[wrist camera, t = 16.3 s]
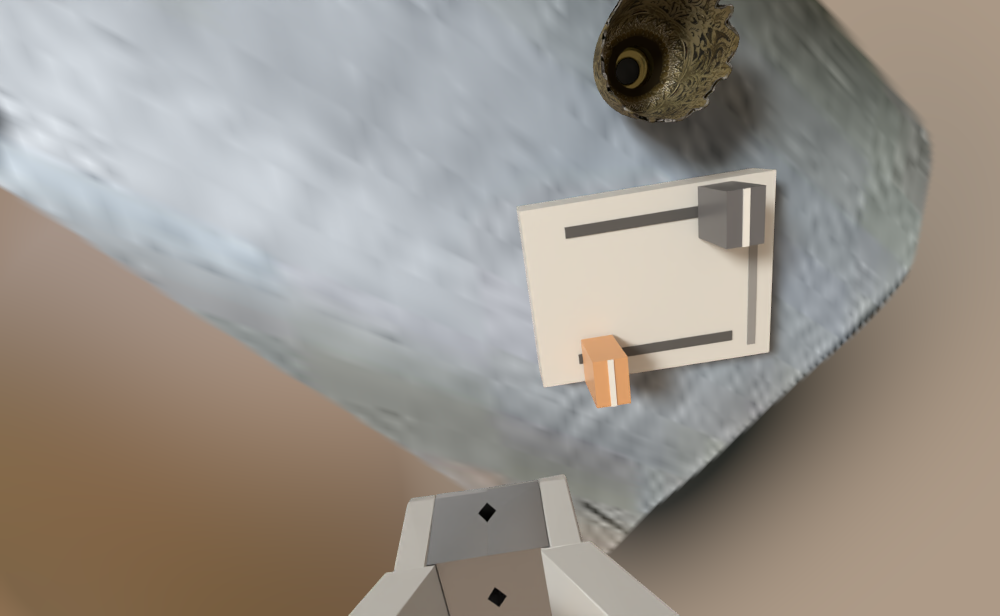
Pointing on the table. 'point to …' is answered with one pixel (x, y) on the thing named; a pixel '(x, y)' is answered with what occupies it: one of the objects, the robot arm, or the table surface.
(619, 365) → the fader
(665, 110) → the cup
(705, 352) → the mixer console
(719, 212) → the fader
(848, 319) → the table surface
